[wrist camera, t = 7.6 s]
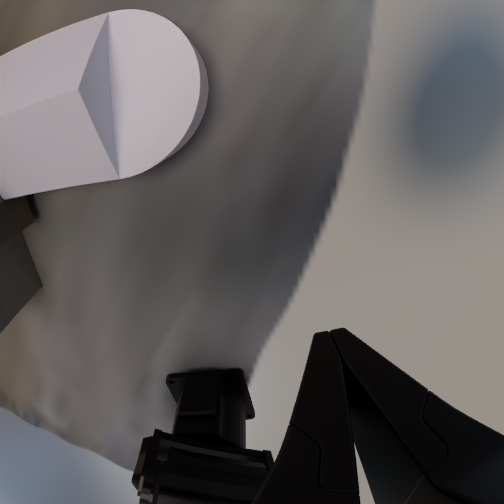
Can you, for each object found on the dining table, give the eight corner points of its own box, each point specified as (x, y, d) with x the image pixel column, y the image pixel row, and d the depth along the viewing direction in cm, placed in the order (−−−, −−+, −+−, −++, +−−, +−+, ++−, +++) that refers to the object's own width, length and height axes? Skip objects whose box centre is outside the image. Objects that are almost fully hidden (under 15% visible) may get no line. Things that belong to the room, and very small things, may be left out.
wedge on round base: (32, 186, 18) (213, 160, 18) (-31, 218, 12) (196, 184, 12) (21, 63, 14) (204, 13, 14) (-46, 60, 8) (183, -33, 8)
